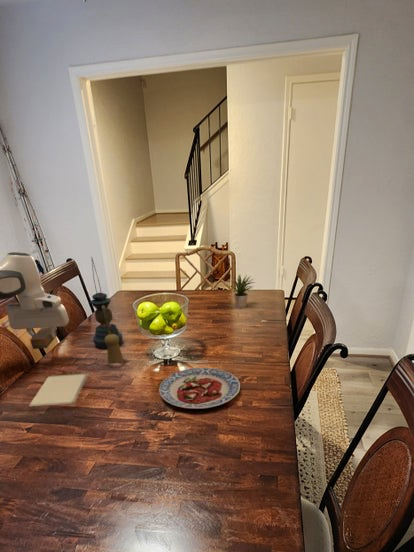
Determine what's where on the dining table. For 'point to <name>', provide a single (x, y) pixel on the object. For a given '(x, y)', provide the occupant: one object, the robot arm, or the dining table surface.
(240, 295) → the house plant
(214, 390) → the ceramic plate
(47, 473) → the dining table surface
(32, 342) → the eraser
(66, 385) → the board
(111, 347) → the cork
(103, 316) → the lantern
